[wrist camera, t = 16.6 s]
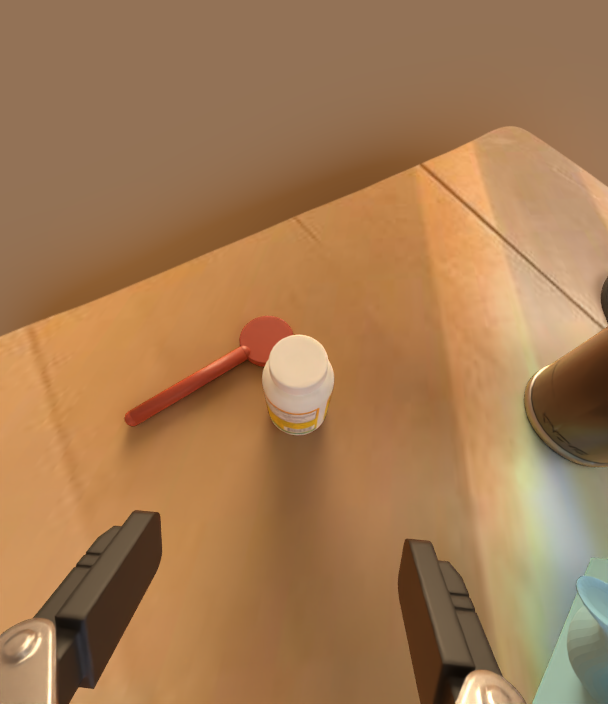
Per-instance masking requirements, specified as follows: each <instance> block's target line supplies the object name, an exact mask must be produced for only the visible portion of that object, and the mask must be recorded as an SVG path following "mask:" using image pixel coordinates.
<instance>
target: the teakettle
mask: <svg viewBox="0 0 608 704" xmlns="http://www.w3.org/2000/svg"><path fill="white" fill-rule="evenodd" d="M576 588H577V594H576V597H575V599H574V602H573V604H572V607H571V609H570V612H569V614H568V616H567V619H566V621H565V624H564V626H563V629H562V631H561V633H560V636H559V638H558V641H557V643H556V646H555V648H554V651H553V653H552V656H551V658H550V661H549V663H548V666H547V668H546V671H545V673H544V676H543V678H542V680H541V683H540V685H539V688H538V690H537V693H536V695H535V698H534V700H533V702H532V704H608V559H605V558H591V560H590V562H589V565H588V567H587V569H586V572H585V574H584V576H581V577H579V579H578V580H577V583H576Z"/></svg>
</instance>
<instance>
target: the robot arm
mask: <svg viewBox="0 0 608 704" xmlns="http://www.w3.org/2000/svg"><path fill="white" fill-rule="evenodd" d="M601 304H602V309H603V311H604V314H605V317H606V320H607V322H608V278H607V279H606V281H605V283H604V285H603V288H602V293H601ZM524 404H525V410H526V413H527V416H528V419H529V421H530V423H531V425H532V427H533V429H534V430H535V432H536V433H537V434H538V436H539V437H540V438H541V439H542V440H543V441H544V442H545V443H546V444H547V445H548V446H549V447H550V448H551V449H552V450H554V451H555V452H556V453H558V454H559V455H561V456H562V457H564V458H566V459H568V460H570V461H572V462H575V463H577V464H580V465H584V466H589V467H606V466H608V327H606V328H605V329H603V330H602V331H600V332H599V333H597V334H596V335H594V336H593V337H591V338H590V339H588V340H587V341H585V342H584V343H582V344H581V345H579V346H578V347H576V348H575V349H573V350H572V351H570V352H569V353H567V354H566V355H564V356H563V357H561V358H560V359H558V360H557V361H555V362H554V363H552V364H550V365H548V366H546V367H544V368H543V369H541V370H540V371H538V372H537V373H536V374H534V375H533V376H532V378H531V379H530V380H529V382H528V384H527V386H526V389H525V395H524ZM161 556H162V538H161V521H160V514H159V513H158V512H149V511H139V510H135V511H133V512H132V513H131V515H130V516H129V517H128V519H127V520H126V521H125V523H124V524H123V525H122V527H121V526H113V527H112V528H110V529H109V530H108V531H106V532H105V533H104V534H102V535H101V536H99V537H98V538H97V539H96V541H95V542H94V543H93V544H92V546H91V547H90V548H89V549H88V551H87V552H86V555H84V556H83V557H82V558H81V559H80V561H79V562H78V563H77V565H76V567H74V568H73V569H72V570H71V572H70V573H69V574H68V575H67V577H66V578H65V579H64V580H63V582H62V583H61V584H60V585H59V587H58V588H57V589H56V590H55V592H54V593H53V594H52V595H51V597H50V598H49V599H48V600H47V602H46V603H45V604H44V605H43V606H42V608H41V609H40V610H39V611H38V613H37V614H36V615H35V616H34V617H33V618H32V619H28V620H25V621H22V622H20V623H18V624H16V625H14V626H12V627H11V628H9V629H8V630H6V631H5V632H3V633H2V634H1V635H0V704H69V702H70V701H71V699H72V697H73V696H74V694H75V692H76V690H77V689H78V687H83V688H91V689H94V687H95V686H96V684H97V682H98V680H99V678H100V676H101V674H102V672H103V671H104V669H105V667H106V665H107V663H108V661H109V659H110V658H111V656H112V654H113V652H114V650H115V648H116V646H117V644H118V643H119V641H120V639H121V637H122V635H123V633H124V631H125V630H126V628H127V626H128V624H129V622H130V620H131V618H132V617H133V615H134V613H135V611H136V609H137V607H138V605H139V603H140V602H141V600H142V598H143V596H144V594H145V592H146V590H147V589H148V587H149V585H150V583H151V581H152V579H153V577H154V575H155V574H156V572H157V569H158V567H159V564H160V560H161ZM398 593H399V600H400V605H401V610H402V615H403V620H404V625H405V630H406V635H407V640H408V644H409V649H410V654H411V659H412V664H413V669H414V674H415V679H416V684H417V688H418V693H419V698H420V703H421V704H526V702H525V700H524V699H523V697H522V696H521V694H520V693H519V692H518V691H517V690H516V688H515V687H514V686H513V685H511V684H510V683H509V682H508V681H507V680H506V679H504V677H503V676H502V674H501V672H500V669H499V667H498V665H497V662H496V660H495V657H494V655H493V652H492V650H491V647H490V645H489V643H488V640H487V638H486V635H485V633H484V630H483V628H482V625H481V623H480V621H479V618H478V616H477V613H475V608H474V606H473V603H472V601H471V599H470V598H469V594H468V591H467V589H466V586H465V584H464V582H463V579H462V577H461V576H460V574H459V573H458V572H457V571H456V570H455V568H454V567H453V566H452V565H451V564H450V562H448V561H438V559H437V556H436V553H435V551H434V548H433V545H432V543H431V542H430V541H425V540H415V539H405V542H404V547H403V553H402V558H401V564H400V570H399V576H398Z"/></svg>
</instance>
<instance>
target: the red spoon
mask: <svg viewBox="0 0 608 704" xmlns="http://www.w3.org/2000/svg"><path fill="white" fill-rule="evenodd" d="M291 335H293V332H292V329H291V328H290V326H289V325H288V324H287V323H286V322H285V321H283V320H282V319H280V318H277V317H274V316H262V317H258V318H255V319H253V320H252V321H250V322H249V323H248V324H247V325H246V326H245V327H244V328H243V330H242V332H241V334H240V347H238V348H237V349H235V350H233V351H232V352H230V353H228V354H226V355H225V356H223V357H221V358H219V359H218V360H216V361H214V362H213V363H211V364H209V365H207V366H206V367H204V368H202V369H201V370H199V371H197V372H195V373H194V374H192V375H190V376H188V377H187V378H185V379H183V380H182V381H180V382H178V383H176V384H175V385H173V386H171V387H170V388H168V389H166V390H164V391H163V392H161V393H159V394H158V395H156V396H154V397H152V398H151V399H149V400H147V401H145V402H144V403H142V404H140V405H139V406H137V407H135V408H133V409H132V410H130V411H128V412H127V413H126V415H125V422H126V423H127V424H128V425H130V426H136V425H138V424H140V423H142V422H143V421H145V420H147V419H148V418H150V417H152V416H153V415H155V414H157V413H158V412H160V411H162V410H163V409H165V408H167V407H168V406H170V405H172V404H173V403H175V402H177V401H178V400H180V399H182V398H184V397H185V396H187V395H189V394H190V393H192V392H194V391H195V390H197V389H199V388H200V387H202V386H204V385H205V384H207V383H209V382H210V381H212V380H214V379H215V378H217V377H219V376H220V375H222V374H224V373H225V372H227V371H229V370H230V369H232V368H234V367H236V366H237V365H239V364H241V363H242V362H244V361H246V360H247V359H248V360H249V361H250V362H251V363H253V364H255V365H258V366H264V367H265V364H266V362H267V361H268V359H269V355H270V352H271V350H272V349H273V347H274V346H275V345H276V343H278V342H279V341H280V340H282V339H283V338H285V337H288V336H291Z"/></svg>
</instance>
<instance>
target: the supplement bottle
mask: <svg viewBox="0 0 608 704" xmlns="http://www.w3.org/2000/svg"><path fill="white" fill-rule="evenodd" d="M262 385H263V390H264V394H265V399H266V403H267V408H268V412H269V416H270V418H271V420H272V422H273V423H274V424H275V426H276V427H278V428H279V429H280V430H281V431H283V432H285V433H288V434H291V435H305V434H308V433H311V432H312V431H314V430H316V429H317V428H318V427H319V426H320V425H321V424H322V422H323V421H324V419H325V417H326V414H327V410H328V406H329V402H330V398H331V394H332V391H333V387H334V372H333V369H332V366H331V364H330V362H329V360H328V356H327V353H326V351H325V349H324V347H323V346H322V345H321V344H320V343H319V342H318V341H316V340H315V339H313V338H311V337H308V336H305V335H291V336H288V337H285V338H283V339H282V340H280V341H279V342H278V343H276V345H275V346H274V347H273V349H272V350H271V352H270V355H269V359H268V361H267V362H266V364H265V367H264V369H263V374H262Z"/></svg>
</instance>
